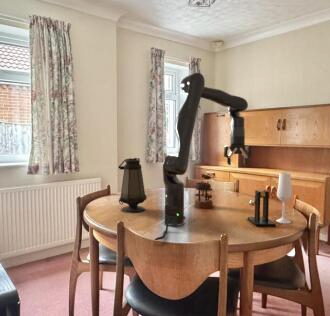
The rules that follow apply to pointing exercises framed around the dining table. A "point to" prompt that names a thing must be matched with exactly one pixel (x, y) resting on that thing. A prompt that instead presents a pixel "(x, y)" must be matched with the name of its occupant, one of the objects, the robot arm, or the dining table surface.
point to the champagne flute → (284, 193)
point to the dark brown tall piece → (203, 187)
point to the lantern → (132, 186)
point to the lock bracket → (263, 220)
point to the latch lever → (262, 195)
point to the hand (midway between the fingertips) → (237, 164)
